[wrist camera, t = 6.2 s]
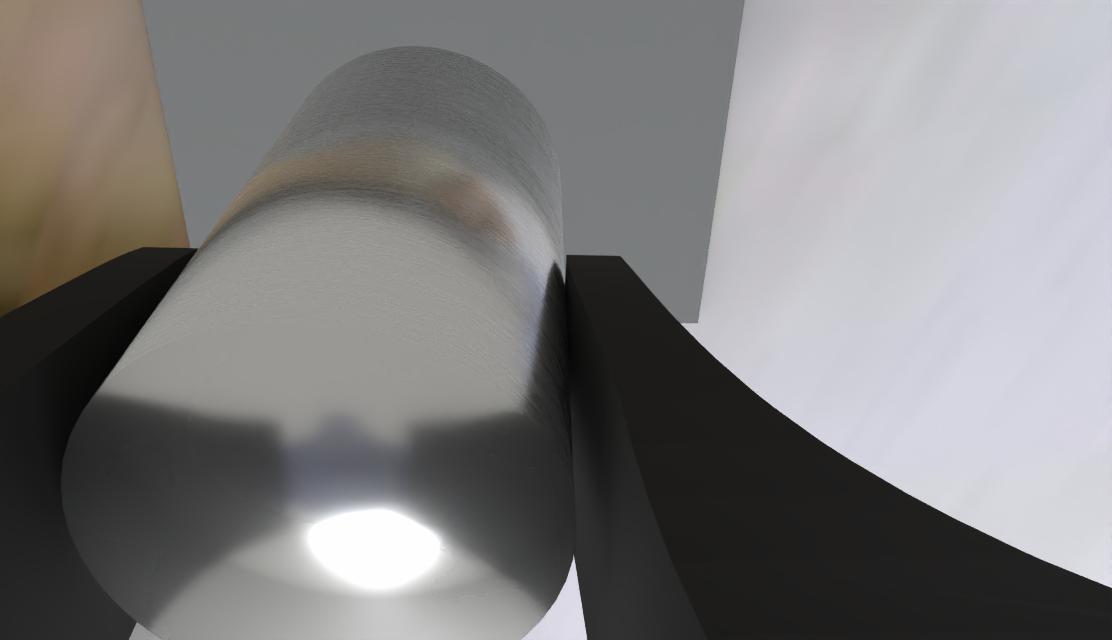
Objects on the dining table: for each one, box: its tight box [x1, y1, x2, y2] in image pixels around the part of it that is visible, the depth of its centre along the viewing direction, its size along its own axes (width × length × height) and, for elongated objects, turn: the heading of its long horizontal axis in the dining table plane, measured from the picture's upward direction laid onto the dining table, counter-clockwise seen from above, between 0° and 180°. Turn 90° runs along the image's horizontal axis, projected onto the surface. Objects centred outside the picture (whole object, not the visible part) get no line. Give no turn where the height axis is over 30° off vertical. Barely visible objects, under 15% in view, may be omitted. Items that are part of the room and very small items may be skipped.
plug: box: [61, 46, 576, 640], centre depth 10 cm, size 4×4×7 cm
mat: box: [141, 0, 744, 323], centre depth 19 cm, size 12×12×1 cm
